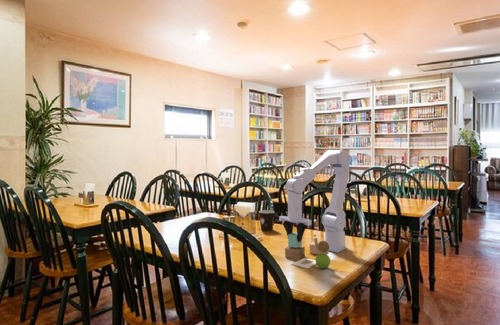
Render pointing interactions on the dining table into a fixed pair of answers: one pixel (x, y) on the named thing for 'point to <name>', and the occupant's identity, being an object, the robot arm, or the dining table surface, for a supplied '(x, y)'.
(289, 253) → the walnut base brick
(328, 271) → the dining table surface
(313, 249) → the terracotta brick
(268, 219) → the coffee mug
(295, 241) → the teal brick
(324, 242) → the snail figurine
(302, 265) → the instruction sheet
